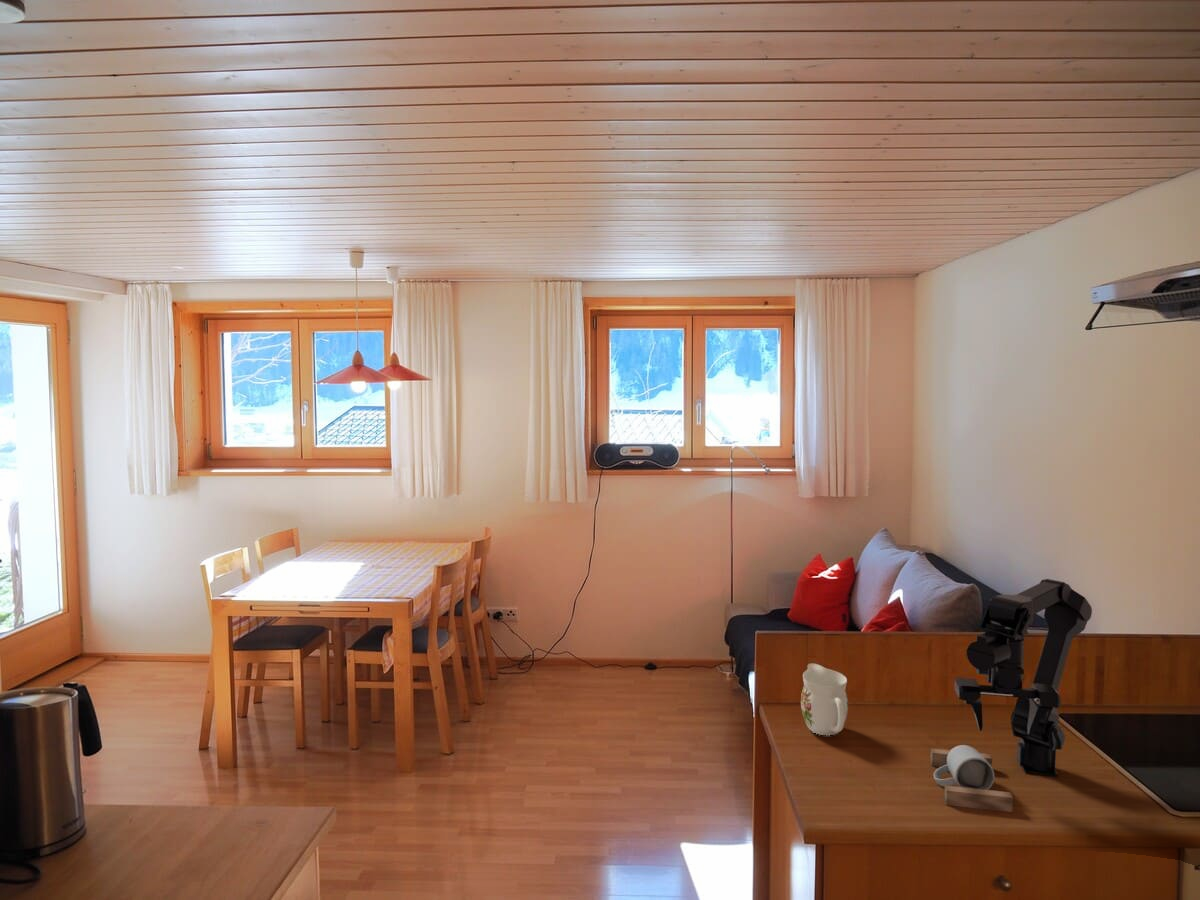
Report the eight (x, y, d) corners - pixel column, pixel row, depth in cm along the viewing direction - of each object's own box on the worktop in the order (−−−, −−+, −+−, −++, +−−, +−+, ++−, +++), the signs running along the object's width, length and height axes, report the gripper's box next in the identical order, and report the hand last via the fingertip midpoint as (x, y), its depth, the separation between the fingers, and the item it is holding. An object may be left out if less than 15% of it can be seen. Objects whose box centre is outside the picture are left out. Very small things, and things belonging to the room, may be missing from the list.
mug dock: (989, 767, 169) (989, 754, 169) (1012, 812, 152) (1012, 797, 152) (930, 761, 172) (930, 748, 172) (946, 804, 155) (946, 790, 154)
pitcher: (819, 751, 177) (820, 693, 176) (789, 717, 195) (790, 664, 194) (864, 747, 179) (865, 690, 178) (831, 714, 197) (832, 661, 195)
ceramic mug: (979, 775, 166) (980, 740, 165) (994, 795, 158) (995, 759, 157) (928, 774, 167) (928, 739, 167) (940, 794, 159) (941, 758, 158)
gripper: (1045, 648, 164) (1042, 719, 165) (950, 642, 168) (948, 711, 170) (1063, 668, 153) (1059, 743, 155) (960, 660, 158) (958, 734, 159)
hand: (1004, 732), depth 160 cm, fingers open, 9 cm apart
